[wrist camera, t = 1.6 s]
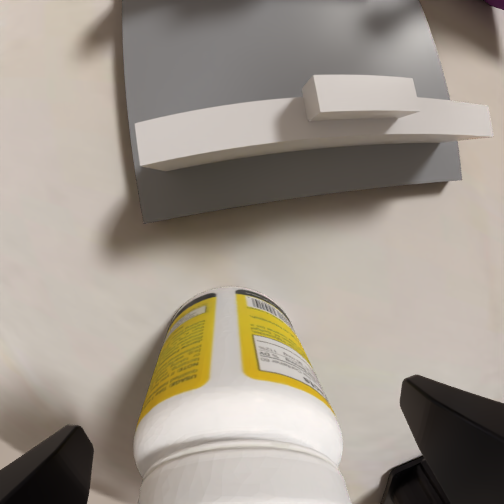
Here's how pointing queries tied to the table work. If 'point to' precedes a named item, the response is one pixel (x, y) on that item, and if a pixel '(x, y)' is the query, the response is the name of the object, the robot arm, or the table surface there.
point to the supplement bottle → (236, 411)
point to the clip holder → (285, 101)
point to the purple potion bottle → (496, 3)
